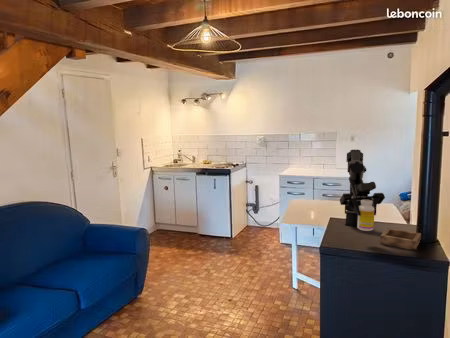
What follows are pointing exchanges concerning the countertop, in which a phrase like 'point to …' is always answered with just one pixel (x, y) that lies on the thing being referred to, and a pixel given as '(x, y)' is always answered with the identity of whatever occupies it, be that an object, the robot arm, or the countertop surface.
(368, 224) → the supplement bottle
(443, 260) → the countertop surface
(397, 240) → the box
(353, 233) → the countertop surface
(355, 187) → the robot arm
